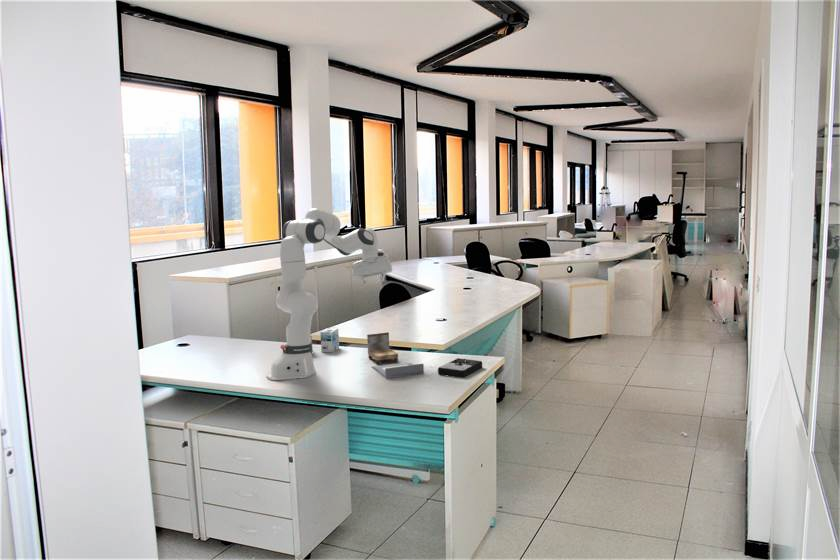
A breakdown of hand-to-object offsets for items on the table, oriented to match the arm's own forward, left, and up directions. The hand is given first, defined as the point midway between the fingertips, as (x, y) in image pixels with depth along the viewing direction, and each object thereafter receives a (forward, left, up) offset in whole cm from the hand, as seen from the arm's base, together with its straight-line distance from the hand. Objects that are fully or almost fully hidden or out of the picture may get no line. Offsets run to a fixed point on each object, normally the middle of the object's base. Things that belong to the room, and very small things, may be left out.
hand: (373, 282), depth 345 cm
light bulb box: (-19, +22, -37) cm, 47 cm away
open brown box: (-1, -13, -37) cm, 39 cm away
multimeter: (+25, -48, -38) cm, 66 cm away
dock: (-1, -33, -38) cm, 50 cm away
